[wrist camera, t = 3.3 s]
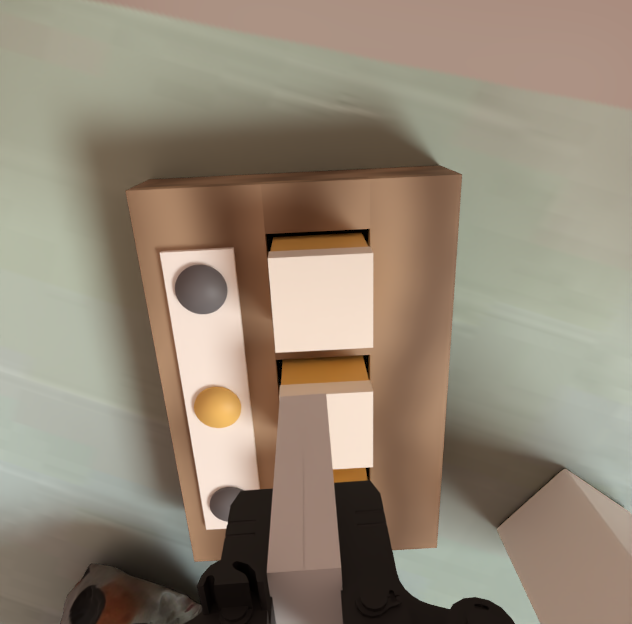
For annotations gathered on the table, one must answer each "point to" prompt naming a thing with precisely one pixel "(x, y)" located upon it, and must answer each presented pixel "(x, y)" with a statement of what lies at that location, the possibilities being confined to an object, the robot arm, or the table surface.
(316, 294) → the yellow white square block
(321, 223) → the button board
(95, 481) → the table surface
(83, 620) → the lucky cat figurine
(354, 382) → the middle button
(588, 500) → the milk carton
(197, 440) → the push button panel
